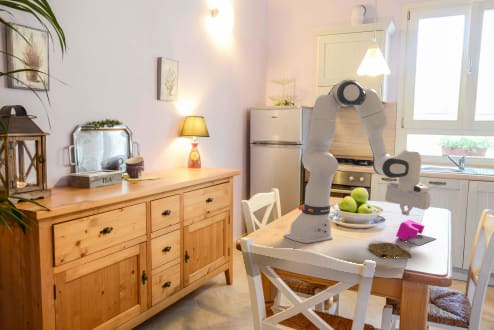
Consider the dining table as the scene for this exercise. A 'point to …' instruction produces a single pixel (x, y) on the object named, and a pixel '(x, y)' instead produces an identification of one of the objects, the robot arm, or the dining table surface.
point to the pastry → (388, 250)
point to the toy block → (409, 229)
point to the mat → (419, 240)
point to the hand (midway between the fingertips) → (405, 214)
